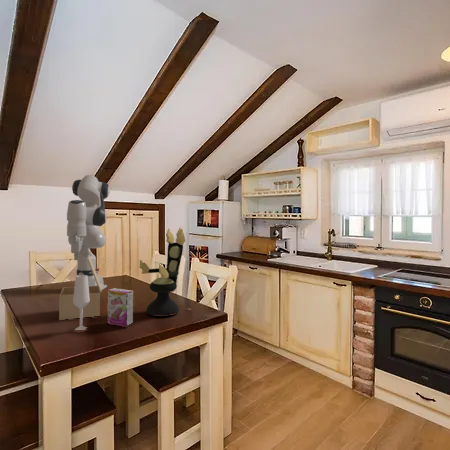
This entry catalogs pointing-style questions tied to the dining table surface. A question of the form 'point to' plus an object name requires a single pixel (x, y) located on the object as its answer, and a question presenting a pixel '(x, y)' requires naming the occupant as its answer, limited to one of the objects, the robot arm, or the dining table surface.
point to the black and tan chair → (166, 277)
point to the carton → (71, 311)
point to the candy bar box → (119, 306)
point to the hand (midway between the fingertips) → (76, 259)
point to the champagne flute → (81, 296)
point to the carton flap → (94, 272)
